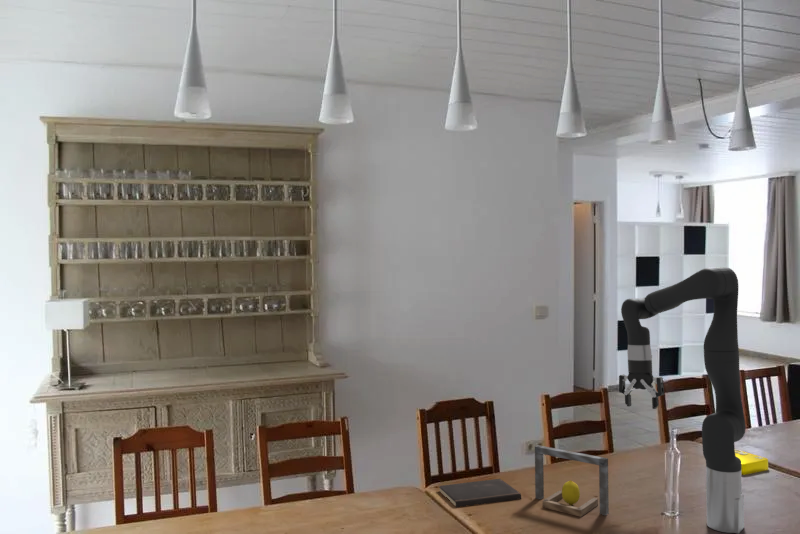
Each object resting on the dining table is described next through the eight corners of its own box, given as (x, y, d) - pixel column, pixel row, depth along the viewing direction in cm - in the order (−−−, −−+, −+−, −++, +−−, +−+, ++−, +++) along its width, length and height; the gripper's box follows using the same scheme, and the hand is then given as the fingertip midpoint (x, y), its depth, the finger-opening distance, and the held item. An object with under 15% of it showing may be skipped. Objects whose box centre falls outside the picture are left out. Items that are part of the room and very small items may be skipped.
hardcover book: (438, 492, 222) (438, 485, 222) (500, 485, 229) (500, 478, 229) (456, 509, 207) (455, 501, 207) (521, 500, 213) (521, 493, 213)
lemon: (580, 509, 204) (580, 483, 204) (562, 508, 205) (562, 482, 205) (579, 502, 209) (579, 478, 209) (561, 501, 210) (561, 477, 210)
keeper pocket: (614, 509, 203) (614, 454, 203) (598, 521, 194) (597, 464, 194) (545, 492, 219) (544, 442, 219) (527, 503, 210) (526, 450, 209)
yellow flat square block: (707, 465, 247) (707, 452, 247) (734, 459, 253) (734, 447, 253) (742, 476, 233) (742, 463, 233) (770, 470, 240) (770, 457, 240)
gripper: (614, 358, 218) (616, 407, 218) (657, 360, 209) (659, 411, 208) (623, 356, 224) (625, 404, 223) (665, 358, 215) (667, 407, 214)
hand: (641, 407), depth 216 cm, fingers open, 8 cm apart
